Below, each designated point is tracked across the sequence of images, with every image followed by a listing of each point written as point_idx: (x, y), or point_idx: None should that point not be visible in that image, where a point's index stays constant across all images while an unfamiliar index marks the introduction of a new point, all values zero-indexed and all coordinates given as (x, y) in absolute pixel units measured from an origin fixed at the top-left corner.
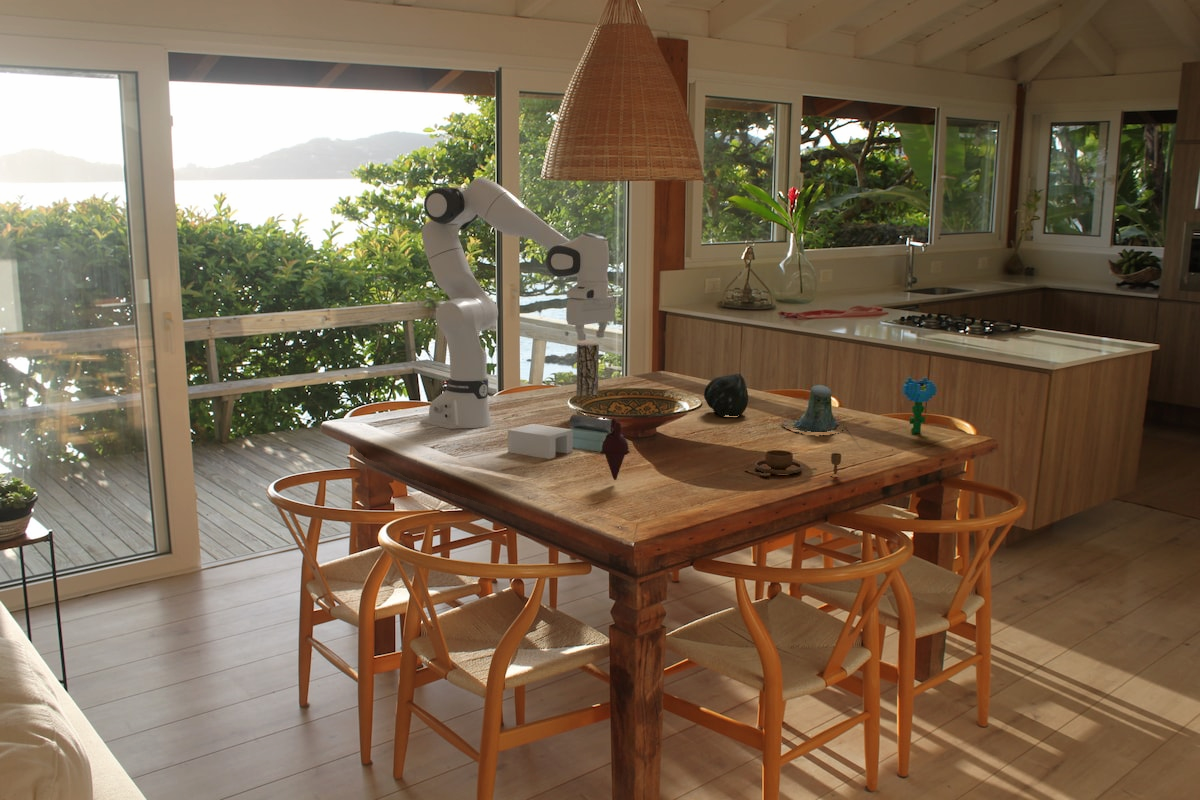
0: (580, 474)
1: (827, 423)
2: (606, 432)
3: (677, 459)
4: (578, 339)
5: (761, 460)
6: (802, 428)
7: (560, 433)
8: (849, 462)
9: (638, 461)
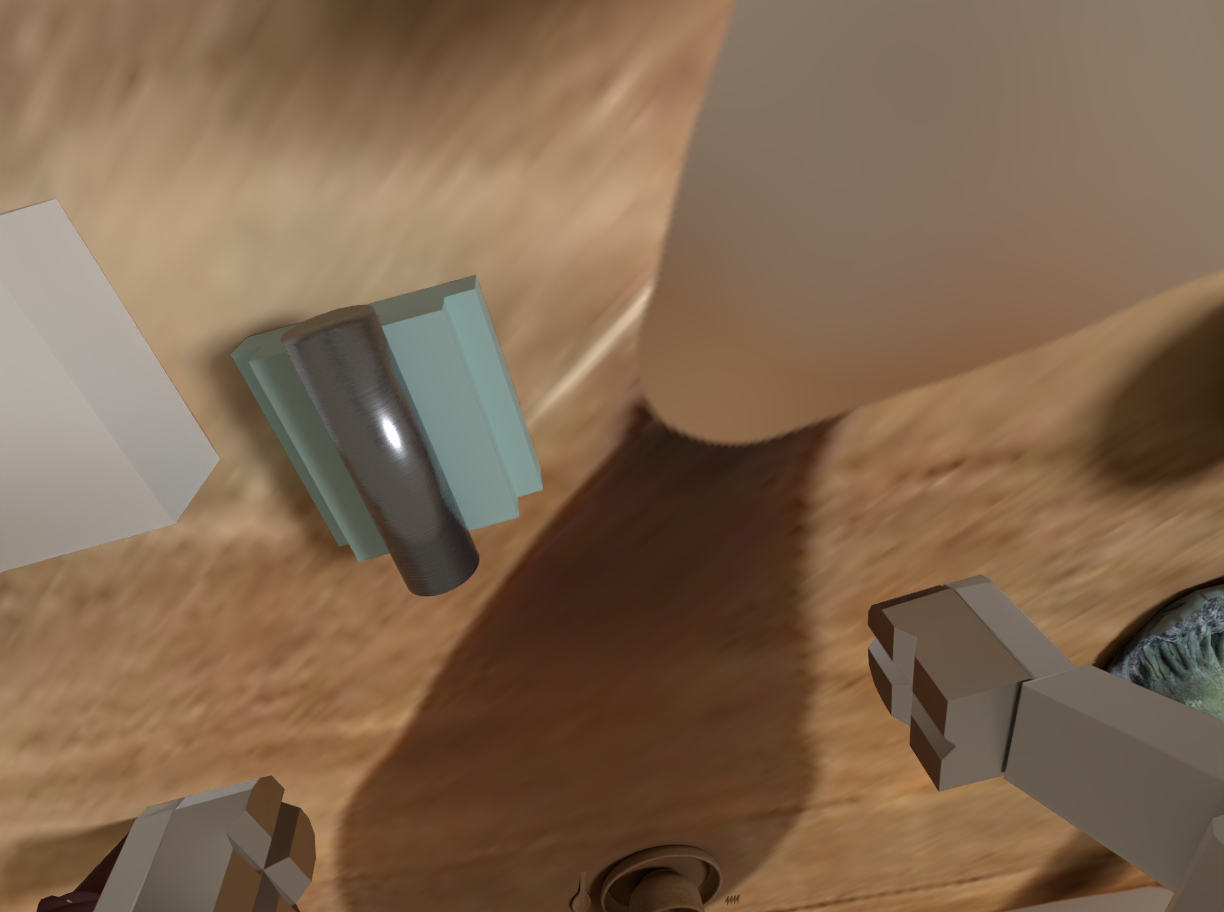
0: (57, 735)
1: None
2: None
3: (524, 725)
4: (152, 823)
5: (670, 855)
6: None
7: (54, 556)
8: (845, 888)
9: (384, 693)
